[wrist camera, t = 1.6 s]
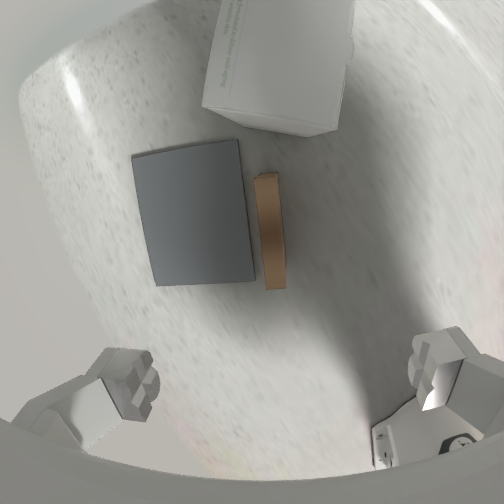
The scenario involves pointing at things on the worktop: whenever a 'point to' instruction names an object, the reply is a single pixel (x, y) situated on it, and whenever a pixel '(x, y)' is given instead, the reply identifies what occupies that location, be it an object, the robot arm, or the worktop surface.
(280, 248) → the walnut slab
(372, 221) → the worktop surface
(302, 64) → the skincare box
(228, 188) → the slate mat
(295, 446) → the worktop surface
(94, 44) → the worktop surface
